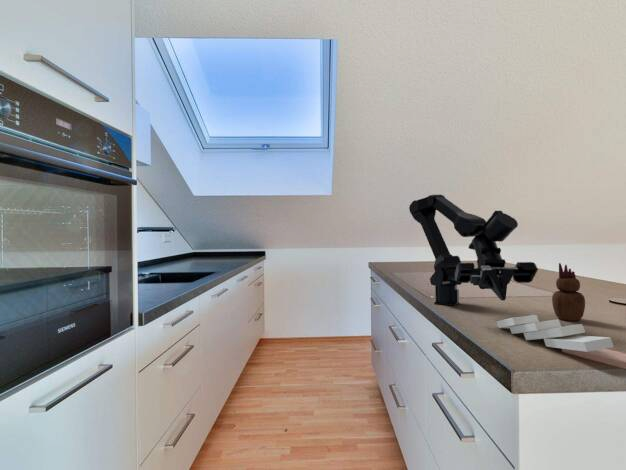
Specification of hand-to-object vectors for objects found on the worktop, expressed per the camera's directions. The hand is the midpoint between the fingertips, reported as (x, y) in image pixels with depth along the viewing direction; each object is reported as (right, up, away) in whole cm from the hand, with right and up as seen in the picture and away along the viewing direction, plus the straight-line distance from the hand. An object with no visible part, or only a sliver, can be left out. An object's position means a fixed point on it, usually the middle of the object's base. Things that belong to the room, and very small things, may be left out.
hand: (503, 299), depth 80 cm
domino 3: (+2, -6, -8) cm, 11 cm away
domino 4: (+3, -6, -13) cm, 15 cm away
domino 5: (+5, -7, -15) cm, 17 cm away
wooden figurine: (+21, -7, +6) cm, 23 cm away
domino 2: (+2, -6, -4) cm, 8 cm away
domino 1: (+1, -6, 0) cm, 6 cm away
